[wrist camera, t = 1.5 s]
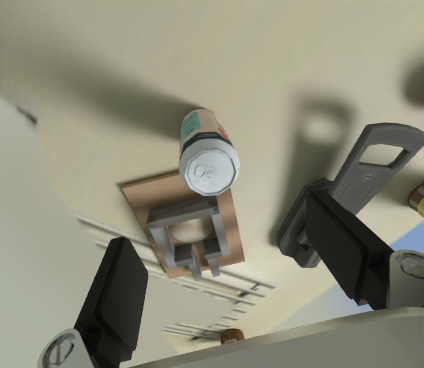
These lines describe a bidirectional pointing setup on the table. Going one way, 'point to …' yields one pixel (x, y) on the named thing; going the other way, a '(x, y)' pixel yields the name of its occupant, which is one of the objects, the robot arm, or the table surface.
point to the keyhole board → (186, 225)
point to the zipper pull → (350, 185)
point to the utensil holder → (231, 336)
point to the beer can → (206, 154)
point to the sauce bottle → (418, 200)
